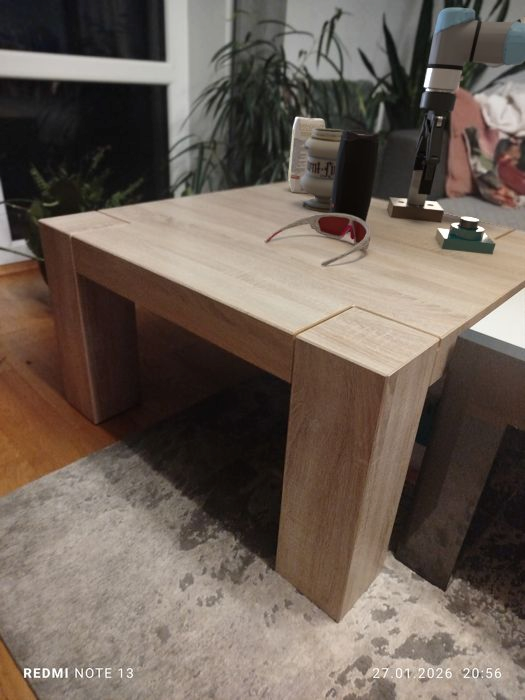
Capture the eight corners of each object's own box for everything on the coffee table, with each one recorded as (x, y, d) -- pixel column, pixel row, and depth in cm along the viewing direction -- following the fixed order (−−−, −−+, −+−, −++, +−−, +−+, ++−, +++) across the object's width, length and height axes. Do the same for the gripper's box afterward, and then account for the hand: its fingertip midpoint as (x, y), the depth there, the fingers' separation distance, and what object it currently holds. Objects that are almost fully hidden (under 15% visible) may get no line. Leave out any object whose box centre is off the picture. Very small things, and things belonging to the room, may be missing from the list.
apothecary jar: (289, 202, 129) (296, 126, 120) (327, 200, 134) (337, 127, 125) (314, 214, 119) (325, 132, 111) (355, 211, 125) (367, 133, 116)
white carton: (319, 194, 140) (328, 120, 131) (288, 192, 139) (295, 117, 130) (315, 189, 146) (323, 118, 137) (286, 187, 146) (292, 115, 137)
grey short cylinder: (474, 227, 104) (476, 217, 103) (478, 232, 101) (481, 222, 100) (456, 225, 104) (459, 215, 103) (460, 230, 101) (462, 220, 100)
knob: (405, 200, 126) (412, 168, 123) (423, 202, 126) (430, 169, 122) (407, 204, 122) (414, 170, 119) (426, 206, 122) (433, 172, 118)
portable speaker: (329, 230, 107) (343, 131, 98) (325, 219, 115) (337, 127, 106) (369, 233, 107) (386, 135, 98) (362, 222, 116) (377, 130, 106)
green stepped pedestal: (482, 243, 107) (487, 224, 105) (492, 254, 100) (498, 234, 98) (434, 238, 108) (439, 219, 106) (441, 249, 101) (446, 229, 99)
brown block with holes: (433, 213, 130) (436, 201, 128) (441, 223, 121) (444, 209, 119) (387, 208, 131) (389, 196, 129) (390, 217, 122) (393, 204, 120)
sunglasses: (387, 251, 96) (389, 226, 93) (326, 282, 87) (326, 256, 84) (321, 229, 107) (321, 205, 104) (261, 254, 98) (259, 230, 95)
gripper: (470, 93, 101) (444, 200, 111) (446, 91, 123) (427, 181, 133) (432, 90, 102) (410, 197, 112) (415, 89, 124) (398, 178, 134)
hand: (419, 188), depth 123 cm, fingers open, 13 cm apart
